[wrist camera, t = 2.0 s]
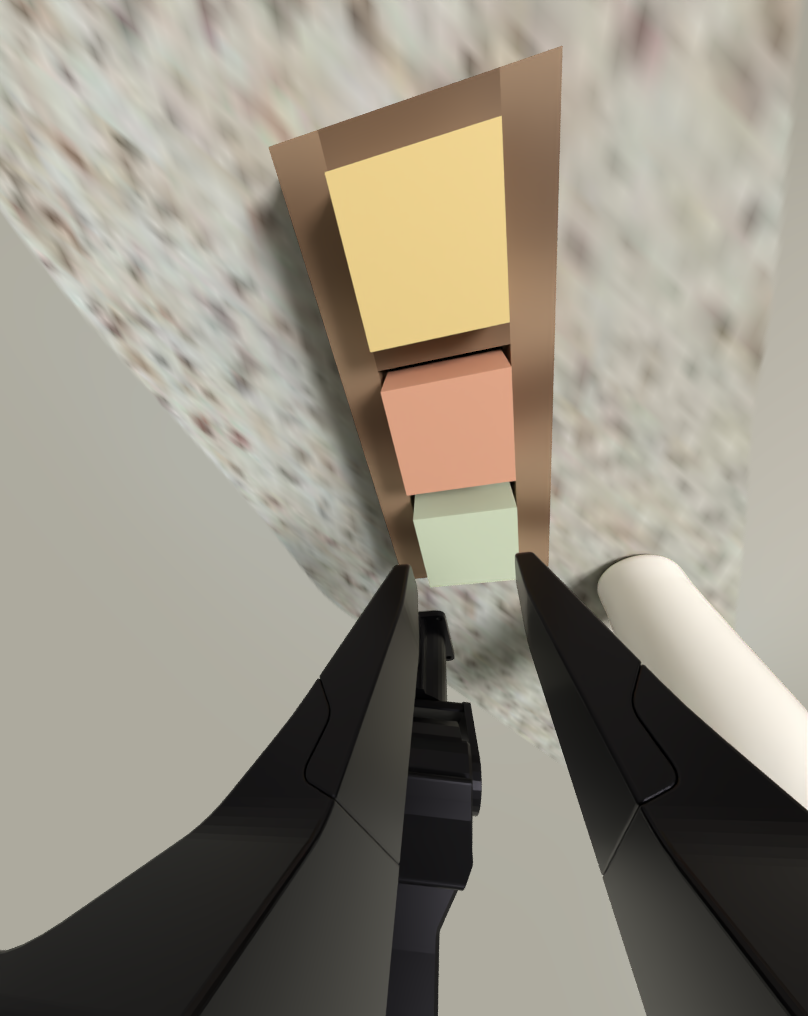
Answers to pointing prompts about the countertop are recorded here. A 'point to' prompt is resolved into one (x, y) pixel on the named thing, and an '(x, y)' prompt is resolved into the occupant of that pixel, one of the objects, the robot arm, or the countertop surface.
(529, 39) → the countertop surface
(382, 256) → the ochre key
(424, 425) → the terracotta key
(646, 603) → the white tall cylinder
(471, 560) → the sage key
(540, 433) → the brown wooden slotted tray
